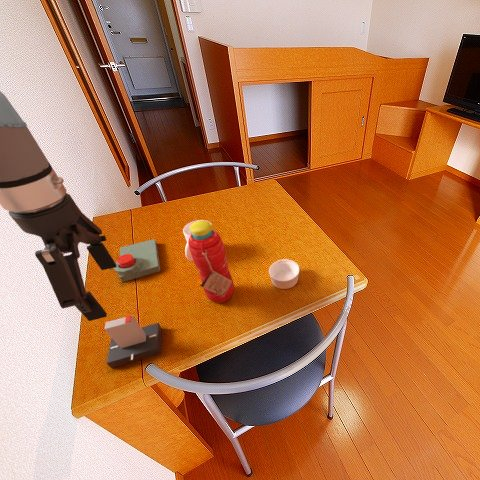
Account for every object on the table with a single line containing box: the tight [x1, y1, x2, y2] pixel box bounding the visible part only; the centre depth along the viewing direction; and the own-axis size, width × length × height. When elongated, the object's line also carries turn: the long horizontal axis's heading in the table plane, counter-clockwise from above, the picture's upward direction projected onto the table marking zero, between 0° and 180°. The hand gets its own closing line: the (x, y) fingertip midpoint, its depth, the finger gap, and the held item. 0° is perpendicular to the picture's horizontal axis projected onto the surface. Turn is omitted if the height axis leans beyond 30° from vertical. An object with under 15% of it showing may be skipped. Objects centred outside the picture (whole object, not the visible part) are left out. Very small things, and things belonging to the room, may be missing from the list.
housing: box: [113, 238, 161, 283], centre depth 85 cm, size 14×11×4 cm
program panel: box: [106, 322, 163, 369], centre depth 64 cm, size 10×9×3 cm
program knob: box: [104, 314, 146, 348], centre depth 61 cm, size 5×2×8 cm, turn 112°
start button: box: [116, 254, 135, 268], centre depth 80 cm, size 4×4×2 cm
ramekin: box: [268, 258, 300, 290], centre depth 81 cm, size 9×9×4 cm
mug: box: [182, 219, 213, 262], centre depth 86 cm, size 12×8×10 cm
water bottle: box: [188, 220, 235, 304], centre depth 68 cm, size 12×8×25 cm, turn 18°
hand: (104, 290), depth 56 cm, fingers open, 13 cm apart
